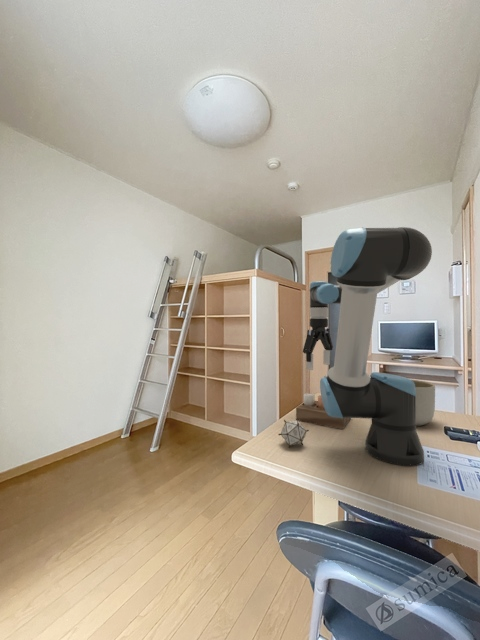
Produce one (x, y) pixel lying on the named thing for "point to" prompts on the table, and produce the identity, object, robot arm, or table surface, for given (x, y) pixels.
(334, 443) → the table surface
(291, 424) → the game die
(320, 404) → the terracotta plug
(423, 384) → the planter
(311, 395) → the far grey plug
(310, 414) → the walnut block
